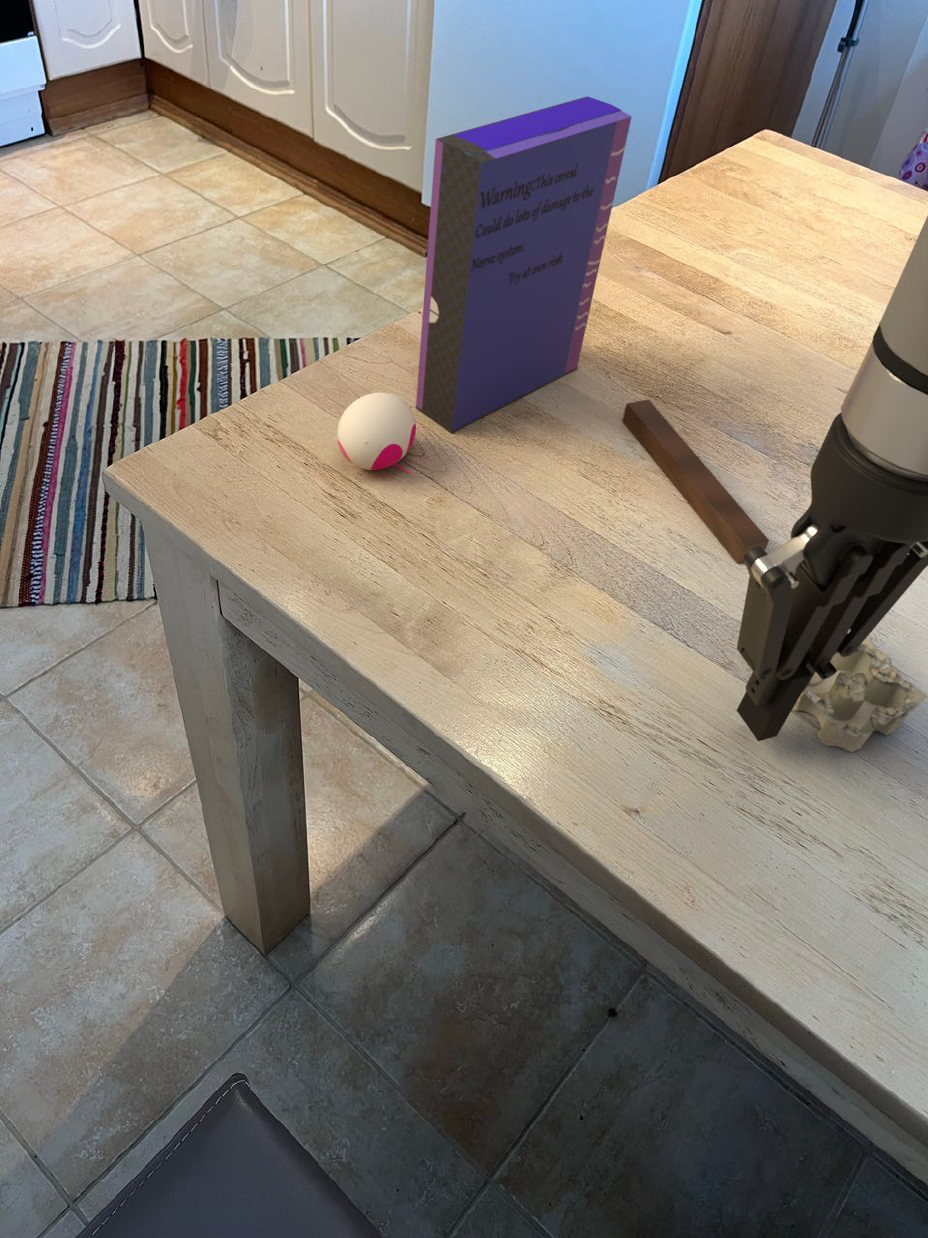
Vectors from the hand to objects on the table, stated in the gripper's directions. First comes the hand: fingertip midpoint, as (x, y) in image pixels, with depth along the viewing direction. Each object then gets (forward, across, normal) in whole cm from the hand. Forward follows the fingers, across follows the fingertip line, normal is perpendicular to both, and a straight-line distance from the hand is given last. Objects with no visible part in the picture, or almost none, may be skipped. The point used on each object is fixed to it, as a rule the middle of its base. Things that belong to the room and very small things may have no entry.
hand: (756, 722), depth 64 cm
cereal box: (+2, +1, -43) cm, 43 cm away
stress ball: (+2, +15, -35) cm, 38 cm away
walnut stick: (+2, -10, -25) cm, 27 cm away
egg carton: (+2, -8, -2) cm, 8 cm away
